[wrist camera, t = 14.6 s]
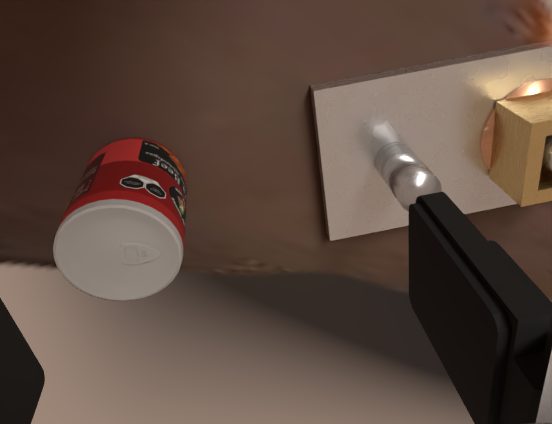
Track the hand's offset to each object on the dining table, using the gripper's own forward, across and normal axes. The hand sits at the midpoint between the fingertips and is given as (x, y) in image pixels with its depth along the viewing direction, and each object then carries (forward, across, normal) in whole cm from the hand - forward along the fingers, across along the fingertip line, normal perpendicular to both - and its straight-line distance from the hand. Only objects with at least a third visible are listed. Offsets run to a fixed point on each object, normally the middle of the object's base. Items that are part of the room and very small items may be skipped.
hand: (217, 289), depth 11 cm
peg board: (+28, -19, +12) cm, 36 cm away
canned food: (+28, +8, +10) cm, 31 cm away
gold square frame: (+27, -25, +12) cm, 38 cm away
